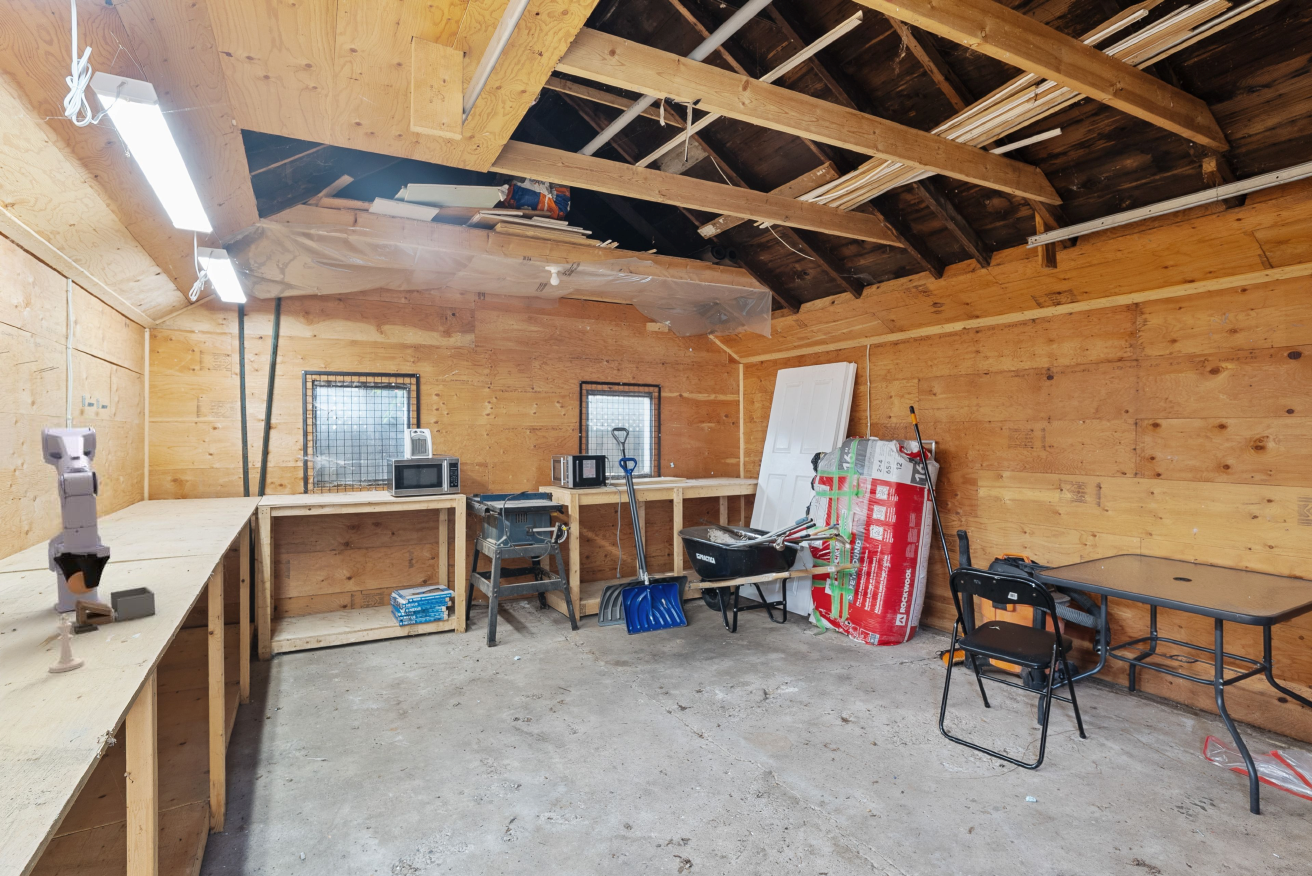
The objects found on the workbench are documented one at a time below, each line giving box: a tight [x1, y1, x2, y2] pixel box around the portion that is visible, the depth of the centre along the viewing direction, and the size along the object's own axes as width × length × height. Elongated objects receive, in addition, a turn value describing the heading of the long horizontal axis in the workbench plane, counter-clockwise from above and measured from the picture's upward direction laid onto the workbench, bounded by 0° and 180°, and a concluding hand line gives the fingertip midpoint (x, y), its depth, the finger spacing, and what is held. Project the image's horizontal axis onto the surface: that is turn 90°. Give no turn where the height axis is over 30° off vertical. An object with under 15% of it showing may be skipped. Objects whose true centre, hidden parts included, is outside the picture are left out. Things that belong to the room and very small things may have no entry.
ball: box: [67, 572, 95, 594], centre depth 143 cm, size 5×5×5 cm
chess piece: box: [48, 613, 85, 673], centre depth 120 cm, size 5×5×10 cm
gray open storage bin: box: [110, 586, 156, 622], centre depth 152 cm, size 9×7×5 cm
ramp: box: [74, 599, 116, 626], centre depth 147 cm, size 8×6×5 cm
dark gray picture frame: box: [73, 623, 99, 635], centre depth 141 cm, size 4×4×1 cm
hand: (83, 586), depth 144 cm, fingers closed on ball, 5 cm apart
